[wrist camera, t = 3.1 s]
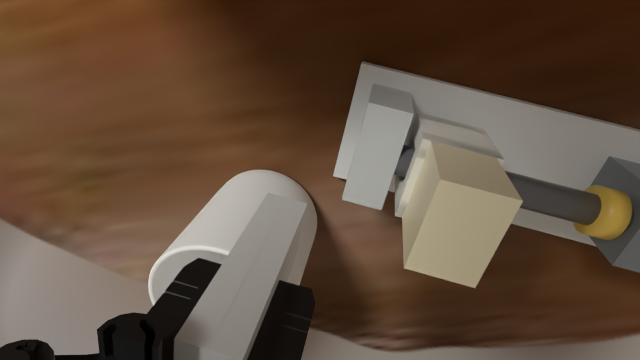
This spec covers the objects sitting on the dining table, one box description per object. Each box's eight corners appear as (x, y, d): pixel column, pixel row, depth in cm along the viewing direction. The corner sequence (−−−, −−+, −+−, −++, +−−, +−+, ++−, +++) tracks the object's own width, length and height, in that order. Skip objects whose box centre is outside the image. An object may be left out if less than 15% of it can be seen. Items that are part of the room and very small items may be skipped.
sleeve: (394, 178, 24) (395, 265, 17) (417, 112, 22) (430, 176, 14) (455, 194, 24) (484, 290, 16) (484, 128, 22) (533, 203, 14)
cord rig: (334, 171, 27) (320, 214, 22) (362, 61, 24) (353, 80, 18) (611, 244, 26) (665, 309, 21) (687, 141, 22) (777, 187, 17)
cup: (320, 171, 28) (285, 257, 19) (317, 293, 33) (288, 405, 24) (214, 161, 29) (134, 237, 20) (228, 280, 34) (170, 382, 25)
